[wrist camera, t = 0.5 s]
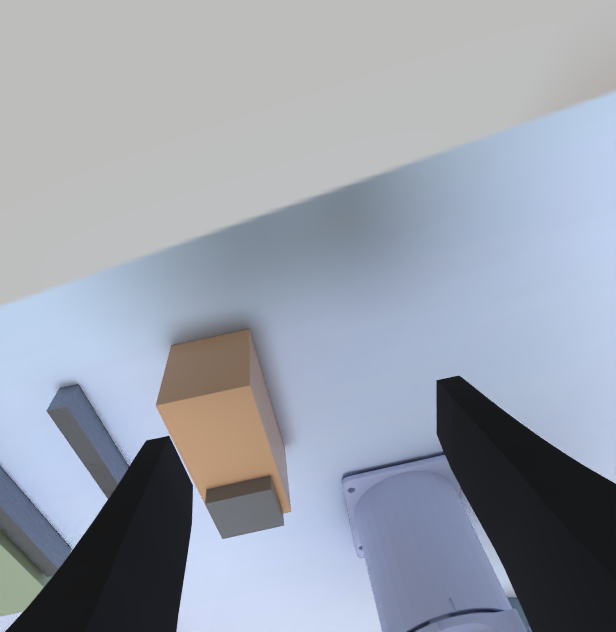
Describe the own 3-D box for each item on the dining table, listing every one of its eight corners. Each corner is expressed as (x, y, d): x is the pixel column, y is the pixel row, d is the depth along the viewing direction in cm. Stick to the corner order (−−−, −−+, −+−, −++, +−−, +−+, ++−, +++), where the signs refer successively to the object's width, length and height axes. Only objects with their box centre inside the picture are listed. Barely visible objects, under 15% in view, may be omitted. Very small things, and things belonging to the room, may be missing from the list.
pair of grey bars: (166, 528, 29) (162, 551, 27) (56, 552, 29) (47, 577, 27) (78, 384, 22) (67, 406, 20) (-67, 415, 22) (-88, 440, 20)
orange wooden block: (284, 445, 26) (292, 526, 22) (221, 459, 26) (215, 542, 22) (249, 327, 22) (250, 398, 17) (171, 343, 22) (152, 419, 17)
